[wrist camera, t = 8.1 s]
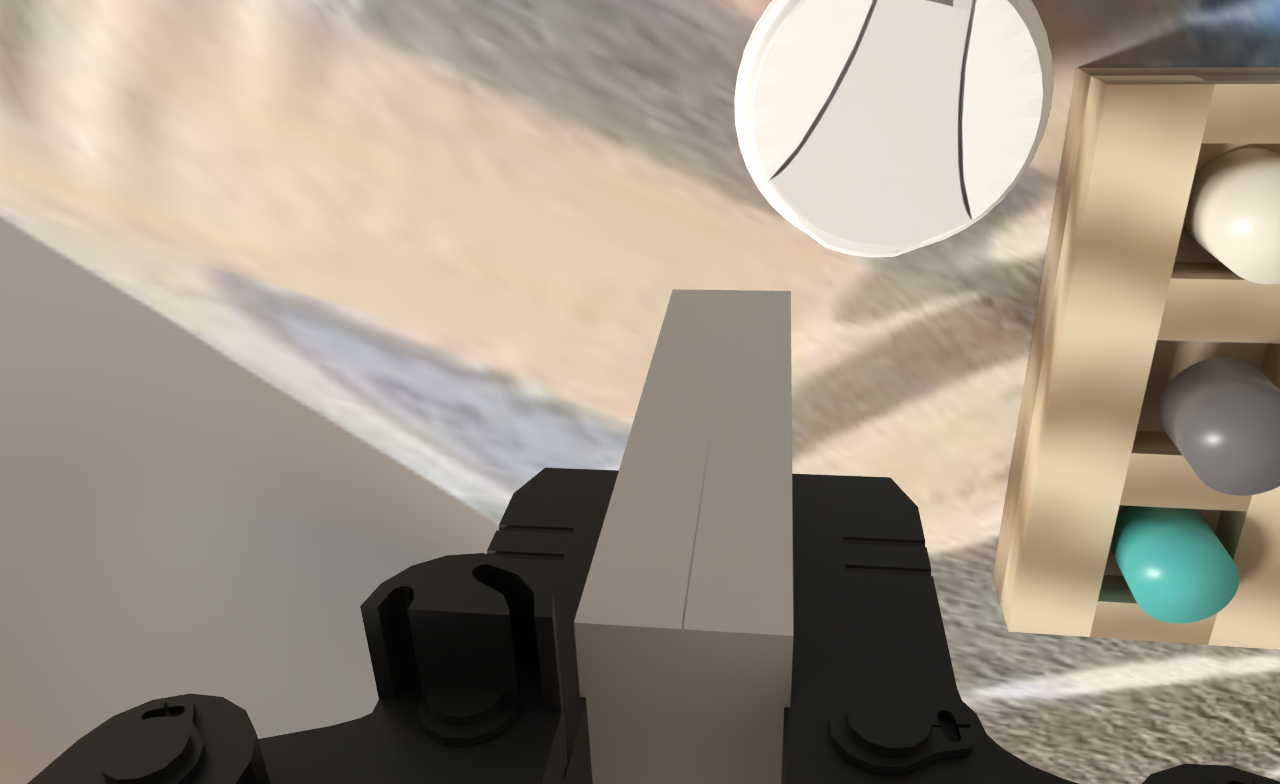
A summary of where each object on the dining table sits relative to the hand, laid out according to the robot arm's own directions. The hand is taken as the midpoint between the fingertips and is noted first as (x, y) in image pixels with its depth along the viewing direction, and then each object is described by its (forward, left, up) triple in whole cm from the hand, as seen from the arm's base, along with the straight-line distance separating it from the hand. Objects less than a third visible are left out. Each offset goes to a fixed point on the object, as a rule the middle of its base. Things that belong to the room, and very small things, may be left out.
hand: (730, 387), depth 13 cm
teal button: (+20, +18, -27) cm, 38 cm away
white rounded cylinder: (+5, +18, -27) cm, 33 cm away
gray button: (+12, +18, -25) cm, 33 cm away
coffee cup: (-1, +3, -30) cm, 30 cm away
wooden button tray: (+12, +18, -29) cm, 36 cm away
